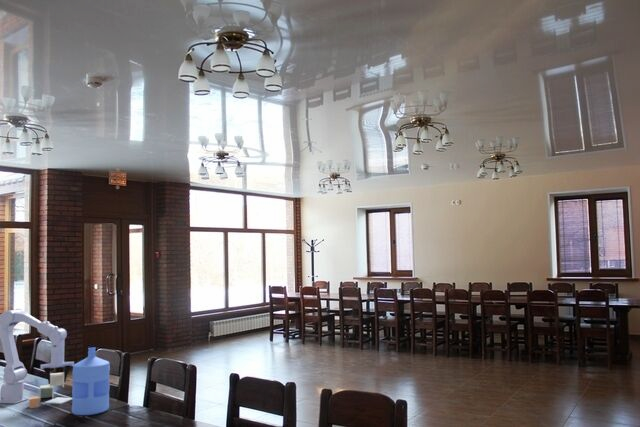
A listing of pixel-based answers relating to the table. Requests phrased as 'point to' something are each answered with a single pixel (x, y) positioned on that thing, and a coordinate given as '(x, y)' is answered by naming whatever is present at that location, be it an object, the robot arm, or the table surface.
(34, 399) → the terracotta cube
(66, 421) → the table surface
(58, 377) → the tan framed cube
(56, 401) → the blue-grey mat
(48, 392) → the sage green cube
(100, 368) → the water jug
